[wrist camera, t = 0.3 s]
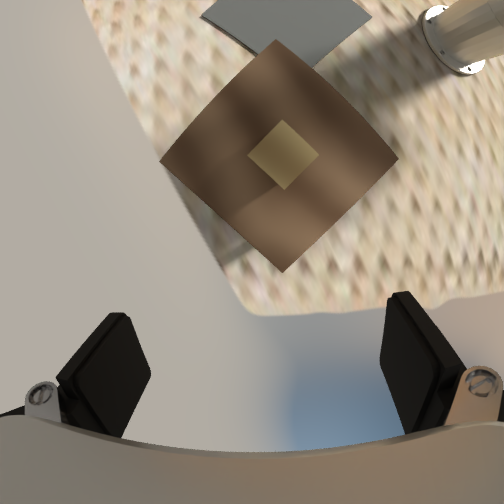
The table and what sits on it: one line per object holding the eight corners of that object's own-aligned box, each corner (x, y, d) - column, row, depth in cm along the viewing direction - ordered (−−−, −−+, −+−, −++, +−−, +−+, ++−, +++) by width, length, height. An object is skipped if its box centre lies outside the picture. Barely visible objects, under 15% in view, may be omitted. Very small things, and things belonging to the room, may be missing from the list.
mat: (282, -45, 25) (282, -46, 25) (371, 18, 28) (372, 17, 28) (202, 15, 30) (201, 14, 30) (293, 84, 33) (294, 83, 33)
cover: (274, 76, 33) (276, 15, 15) (356, 155, 36) (425, 162, 18) (197, 157, 37) (134, 164, 19) (279, 231, 40) (284, 298, 22)
